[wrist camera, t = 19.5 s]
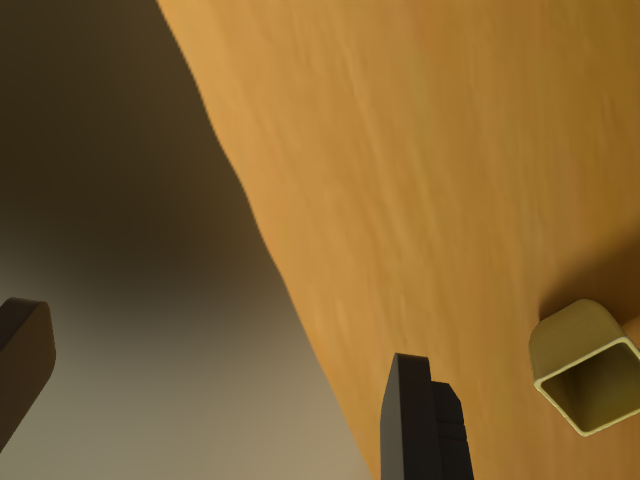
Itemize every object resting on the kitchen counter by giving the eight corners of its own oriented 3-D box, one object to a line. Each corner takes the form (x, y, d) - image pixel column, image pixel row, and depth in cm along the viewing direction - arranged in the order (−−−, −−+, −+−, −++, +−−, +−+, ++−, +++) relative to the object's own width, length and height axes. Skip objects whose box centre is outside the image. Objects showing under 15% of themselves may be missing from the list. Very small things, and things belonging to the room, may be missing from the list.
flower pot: (636, 331, 59) (676, 397, 51) (557, 371, 62) (583, 439, 55) (591, 273, 56) (626, 335, 48) (510, 319, 59) (531, 383, 52)
